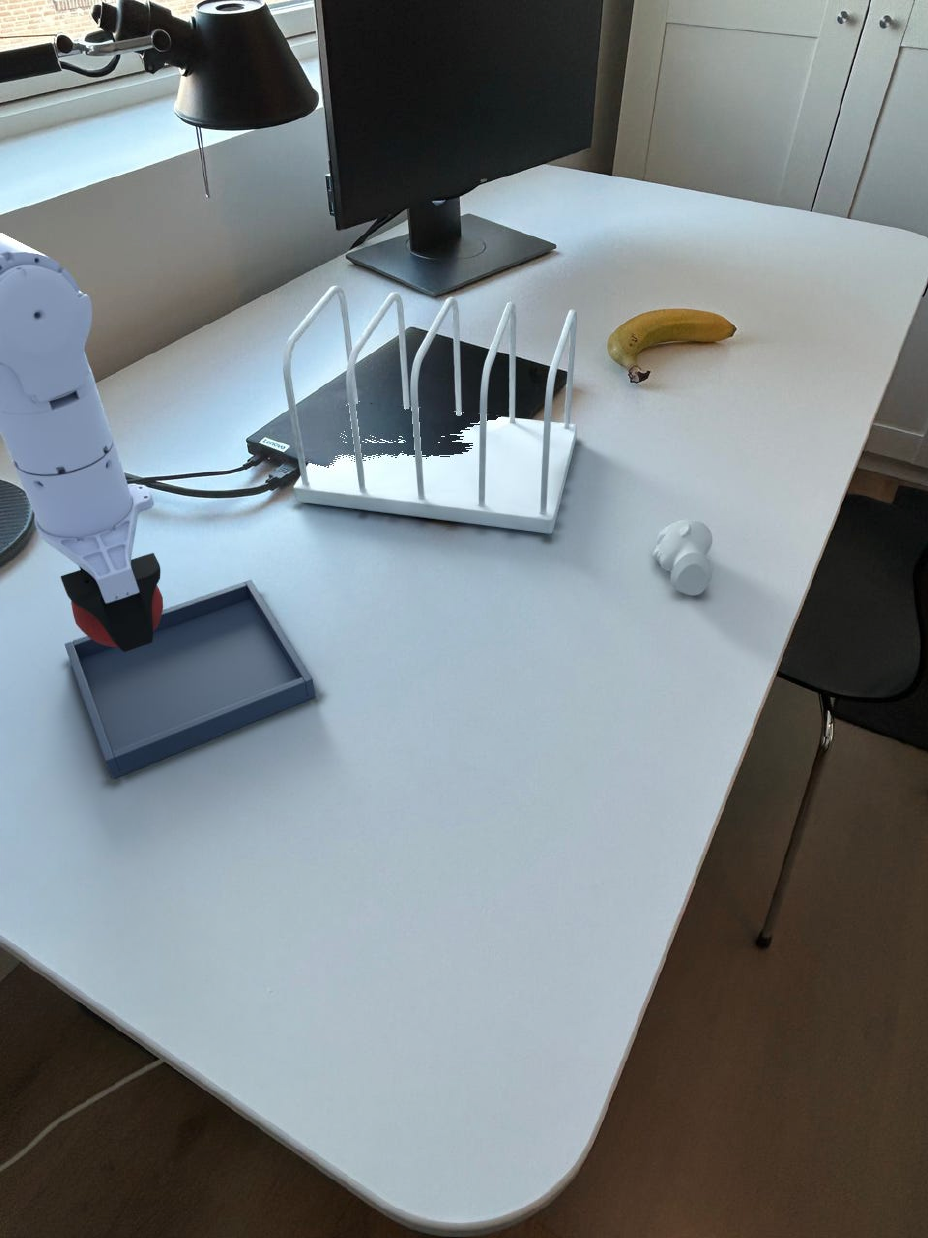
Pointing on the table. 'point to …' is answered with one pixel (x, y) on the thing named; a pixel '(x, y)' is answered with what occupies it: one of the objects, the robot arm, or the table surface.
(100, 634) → the red pomegranate
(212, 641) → the tray
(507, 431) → the file sorter
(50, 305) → the robot arm
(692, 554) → the pale two-lobed sculpture
